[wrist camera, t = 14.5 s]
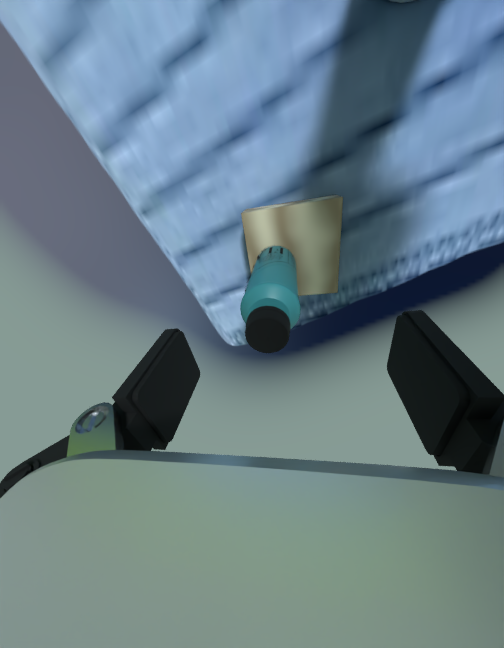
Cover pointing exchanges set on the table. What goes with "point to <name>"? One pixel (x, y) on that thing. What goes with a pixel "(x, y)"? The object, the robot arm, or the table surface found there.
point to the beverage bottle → (271, 300)
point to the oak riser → (300, 238)
